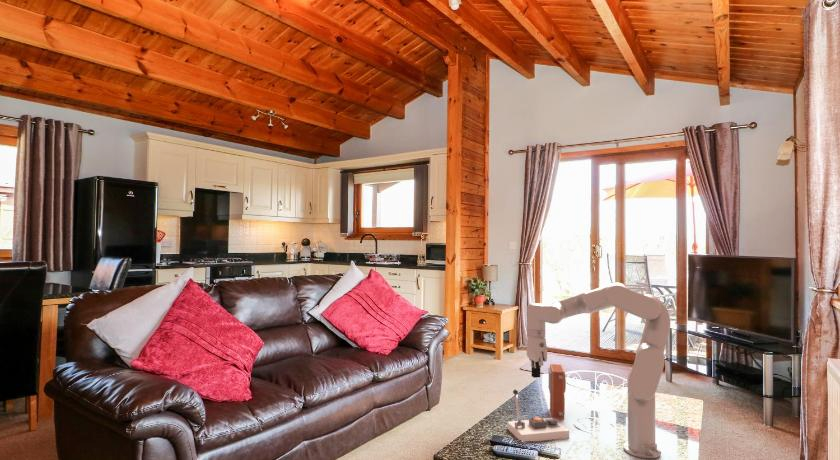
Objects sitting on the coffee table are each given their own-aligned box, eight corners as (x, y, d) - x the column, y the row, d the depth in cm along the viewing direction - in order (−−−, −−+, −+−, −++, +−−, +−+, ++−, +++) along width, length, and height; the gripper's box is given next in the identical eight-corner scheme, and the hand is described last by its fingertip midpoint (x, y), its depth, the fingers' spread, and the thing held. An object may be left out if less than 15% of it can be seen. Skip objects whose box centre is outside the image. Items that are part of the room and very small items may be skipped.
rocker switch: (557, 423, 194) (557, 420, 194) (550, 423, 193) (550, 420, 193) (552, 420, 198) (552, 418, 198) (545, 421, 197) (545, 418, 197)
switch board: (569, 437, 189) (569, 424, 190) (521, 442, 185) (521, 428, 185) (552, 424, 203) (552, 411, 203) (507, 428, 198) (507, 415, 198)
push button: (543, 424, 193) (543, 420, 193) (535, 425, 192) (535, 420, 192) (539, 421, 196) (539, 416, 196) (531, 422, 195) (531, 417, 195)
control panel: (562, 408, 222) (566, 420, 208) (547, 407, 224) (550, 419, 209) (562, 363, 223) (566, 372, 208) (547, 363, 224) (550, 371, 210)
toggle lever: (523, 425, 191) (518, 389, 196) (518, 426, 191) (513, 389, 196) (521, 425, 193) (516, 389, 198) (516, 426, 193) (512, 389, 198)
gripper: (553, 336, 189) (553, 381, 188) (535, 329, 203) (535, 371, 203) (536, 337, 187) (536, 382, 187) (520, 330, 202) (519, 372, 201)
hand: (535, 376), depth 195 cm, fingers closed
